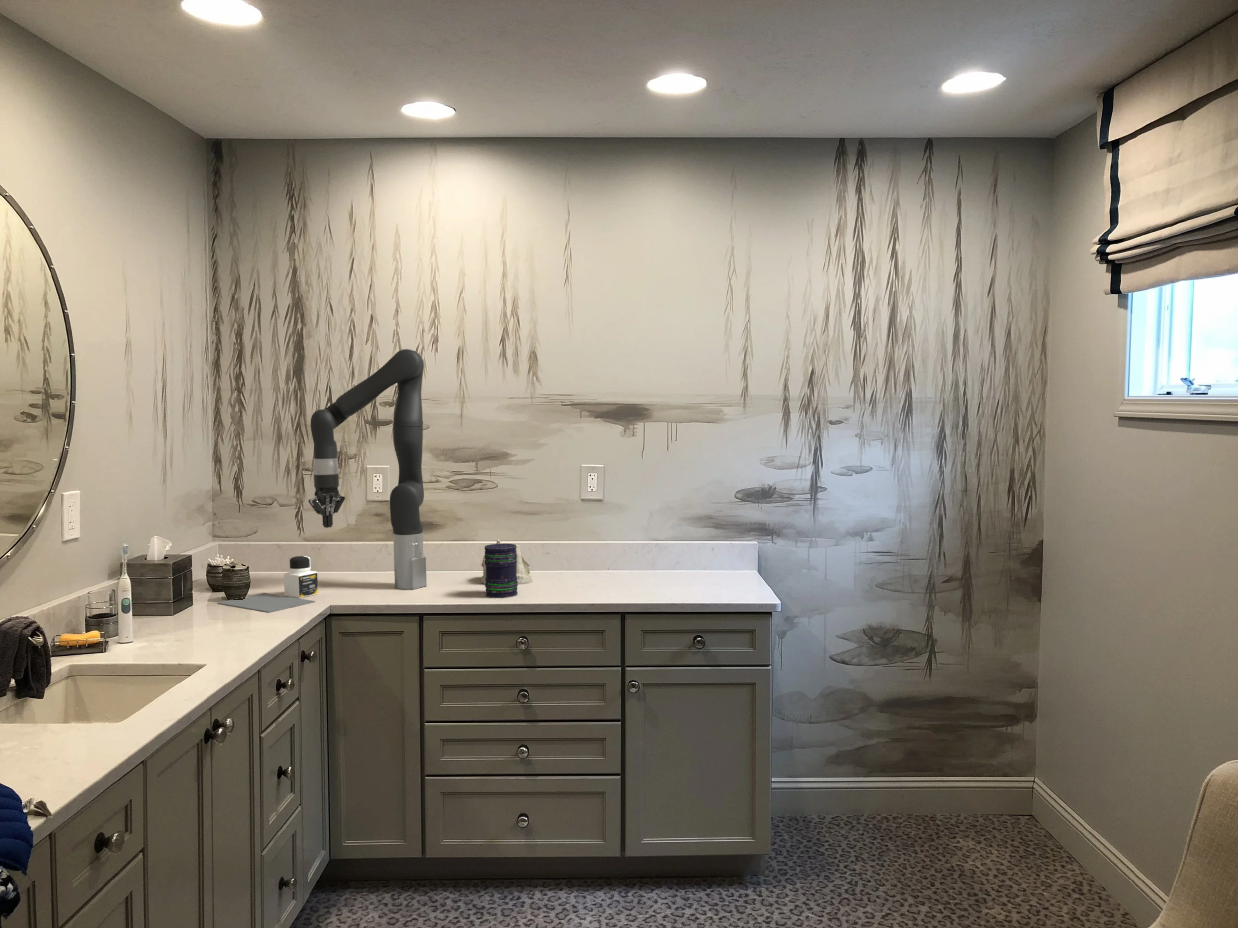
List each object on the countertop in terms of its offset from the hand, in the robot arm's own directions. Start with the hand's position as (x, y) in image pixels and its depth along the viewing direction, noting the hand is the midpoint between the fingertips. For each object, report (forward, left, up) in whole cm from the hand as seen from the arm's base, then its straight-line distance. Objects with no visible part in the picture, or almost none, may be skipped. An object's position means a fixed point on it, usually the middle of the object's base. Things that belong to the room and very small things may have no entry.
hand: (327, 527), depth 299 cm
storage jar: (-54, -20, -20) cm, 61 cm away
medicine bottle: (0, +11, -20) cm, 23 cm away
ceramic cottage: (-41, -38, -20) cm, 59 cm away
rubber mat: (0, +23, -20) cm, 31 cm away
